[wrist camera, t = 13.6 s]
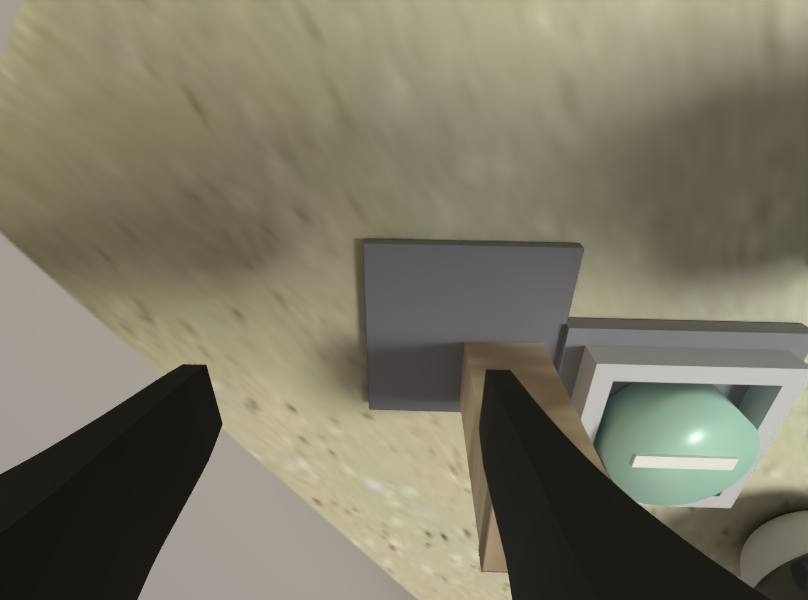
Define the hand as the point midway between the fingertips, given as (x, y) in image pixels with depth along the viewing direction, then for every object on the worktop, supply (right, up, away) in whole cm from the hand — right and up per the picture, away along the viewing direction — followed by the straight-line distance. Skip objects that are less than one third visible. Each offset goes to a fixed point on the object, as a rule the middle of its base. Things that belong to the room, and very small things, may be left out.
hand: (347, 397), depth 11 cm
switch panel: (+15, -4, +13) cm, 20 cm away
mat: (+5, +1, +11) cm, 12 cm away
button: (+15, -4, +12) cm, 20 cm away
